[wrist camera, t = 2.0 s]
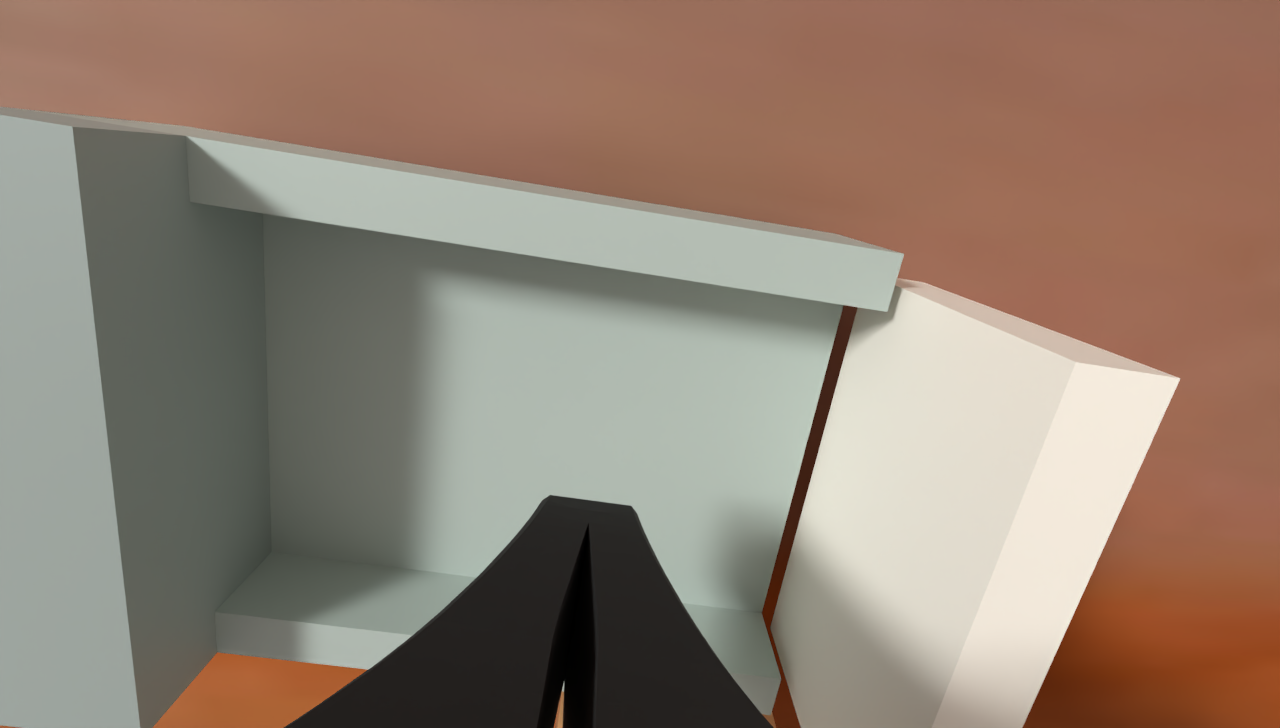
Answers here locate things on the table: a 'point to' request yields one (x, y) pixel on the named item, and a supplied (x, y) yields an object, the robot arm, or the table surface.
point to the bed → (368, 400)
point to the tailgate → (955, 513)
